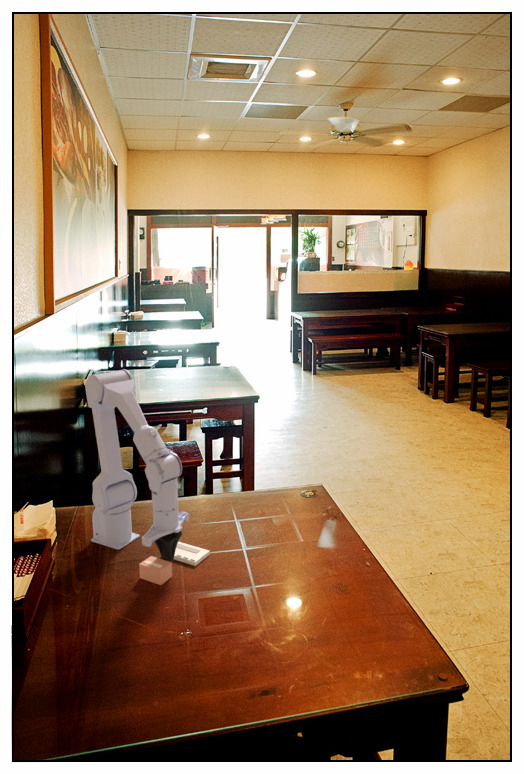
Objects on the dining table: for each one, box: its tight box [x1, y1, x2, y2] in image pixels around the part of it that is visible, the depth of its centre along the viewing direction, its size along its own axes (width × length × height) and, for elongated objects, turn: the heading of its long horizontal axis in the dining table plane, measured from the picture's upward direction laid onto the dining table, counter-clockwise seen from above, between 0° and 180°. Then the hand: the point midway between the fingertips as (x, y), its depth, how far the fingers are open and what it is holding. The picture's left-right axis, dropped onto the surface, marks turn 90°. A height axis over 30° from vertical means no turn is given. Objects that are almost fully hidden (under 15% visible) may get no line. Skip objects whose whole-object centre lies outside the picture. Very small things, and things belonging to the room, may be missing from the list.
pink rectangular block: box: [138, 555, 173, 586], centre depth 125 cm, size 6×4×4 cm, turn 61°
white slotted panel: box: [173, 541, 211, 567], centre depth 135 cm, size 10×6×1 cm, turn 61°
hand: (167, 561), depth 129 cm, fingers closed
